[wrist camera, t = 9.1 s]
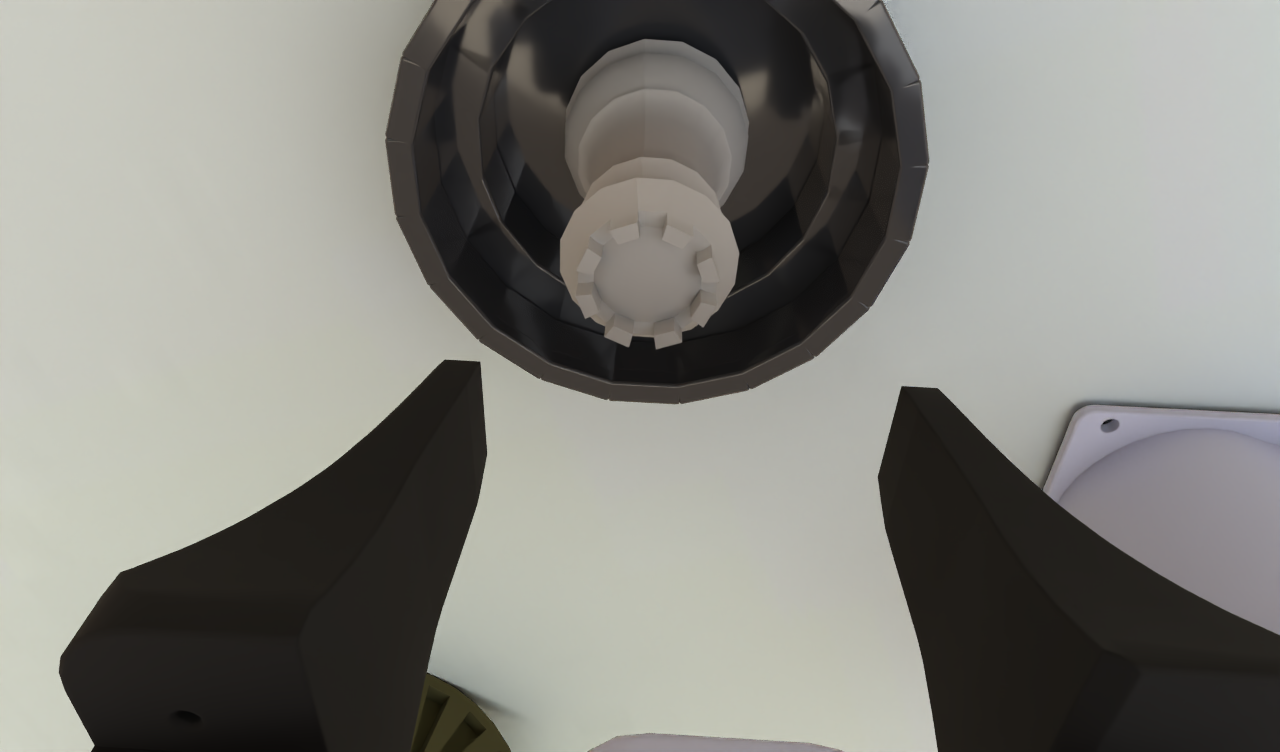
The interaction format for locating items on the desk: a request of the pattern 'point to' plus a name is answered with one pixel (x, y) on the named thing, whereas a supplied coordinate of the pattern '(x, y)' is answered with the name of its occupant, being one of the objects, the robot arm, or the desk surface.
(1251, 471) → the robot arm
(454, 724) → the cannon
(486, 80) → the bowl
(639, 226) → the rook chess piece
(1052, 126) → the desk surface
